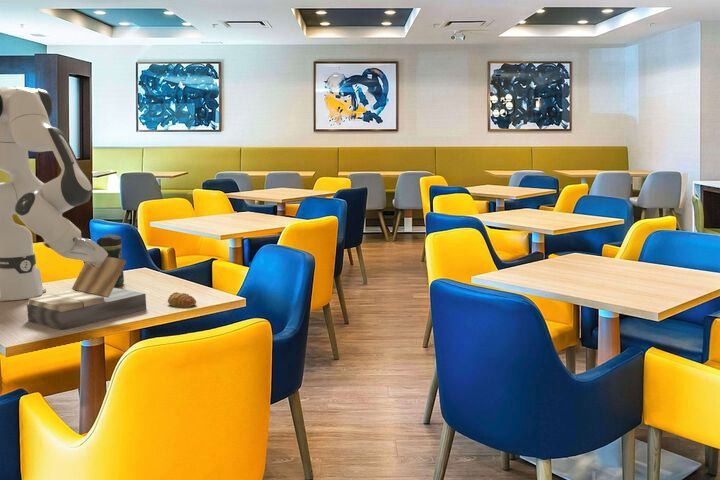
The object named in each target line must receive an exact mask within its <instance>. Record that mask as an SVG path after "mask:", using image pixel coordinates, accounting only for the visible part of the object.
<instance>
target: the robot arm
mask: <svg viewBox="0 0 720 480" xmlns="http://www.w3.org/2000/svg"><path fill="white" fill-rule="evenodd" d="M53 110H54V104H53V99H52V96H51V94H50V93H49V92H48V91H47V90H45V89H42V88H37V87H35V88H31V87H23V86H11V87H10V86H0V171H1V172H4V173H6V174H8V176H9V181H4V182H0V302H2V301H3V302H4V301H19V300H25V299H31V298H36V297H40V296H42V295H43V294H44V293H45V292H47V288H46V287H43V281H42V277H41V276H42V275H41V274H42V273H41V270H40V268H38V266H37V265H36V264H37V257H36V254H35V252H34V242H33V241H34V240H33V234H32V232H33V233H34V234H36V235H38V236H39V237H41V238H42V239H43V242H42V244H43V246H45V247H46V248H49V249H51V250H52V251H54V252H55V253H57V254H58V255H59V256H61V257H63V258H64V259H70V260H78V261H82V262H84V263H85V262H86V263H88V264H90V265H91V266H92V267H97V268H99V267H100V266H101V263H103V262H104V260H105V259H106V257H107V256H108V253H107V252H106V251H105V250H104V249H103V248H102V247H100V246H99V245H98V244H97V242H95V241H93V240H92V239H89V238H84V237H82V231H81V229H79V227H77V226H76V225H75V224H74V223H73V222H71V220H69V219H68V218H67V217H64V216H63V214H64V213H65V212H67V211H69V210H71V209H73V208H75V207H77V206H78V207H79V206H80V205H83V204H85V203H88V202H89V201H90V198H91V197H92V193H93V185H92V183H91V181H90V179H89V178H88V176H87V174H86V173H85V172H84V170H83V168H82V167H81V165H80V163H79V161H78V159H77V157H76V155H75V152H74V151H73V148H72V146H71V145H70V143H69V140H68V139H67V137H66V136H65V134H64V133H63V132H62V130H61V129H59V128H57V127H56V126H52V124H51V121H50V118H51V116H52V114H53ZM29 152H33V153H35V152H36V153H42V152H43V153H44V152H52V153H53V154H54V157H55V159H56V162H57V163H58V165H59V168H60V169H61V170H60V171H61V172H60V174H59V175H58V176H57V177H55V178H53V179H51V180H49V181H48V182H45V183H44V182H43V181H41V179H39V178H38V177H37V176H36V175H35V174H34V172H33V170H32V168H31V165H30V161H29V160H30V159H29ZM13 215H17V217H18V219H20V221H21V222H22V223H23V224H24V225H25V226H24V225H21V224H18V223H16V222H15V220H14V218H13Z"/></svg>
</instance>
